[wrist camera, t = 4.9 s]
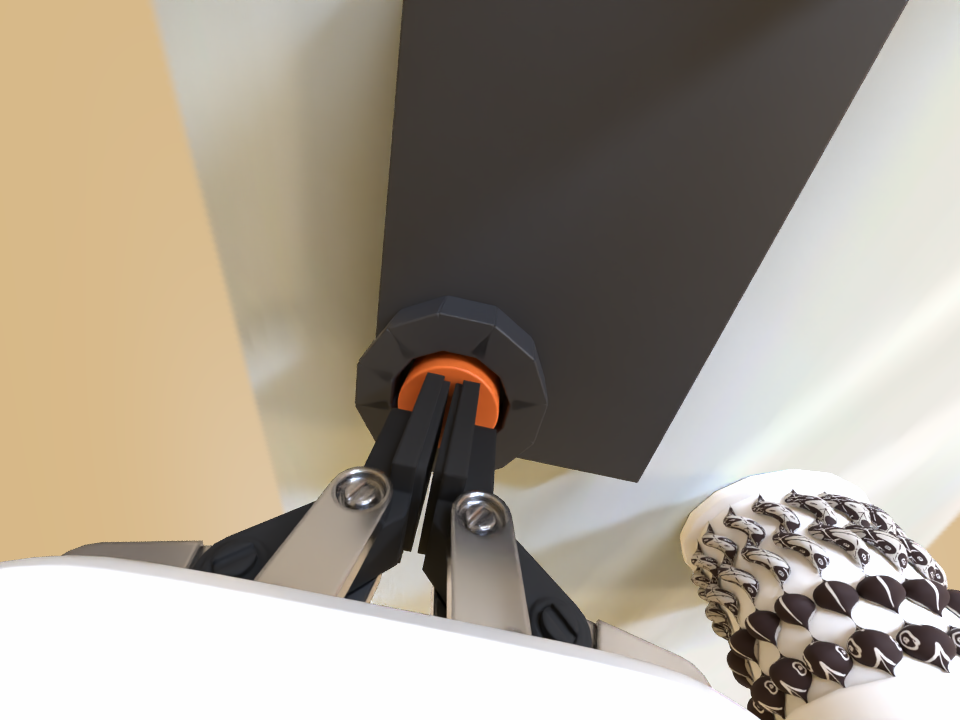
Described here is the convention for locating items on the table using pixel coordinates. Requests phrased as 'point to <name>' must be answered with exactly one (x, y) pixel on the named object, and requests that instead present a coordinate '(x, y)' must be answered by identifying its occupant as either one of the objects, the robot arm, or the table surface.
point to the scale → (596, 198)
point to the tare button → (455, 372)
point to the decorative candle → (824, 602)
